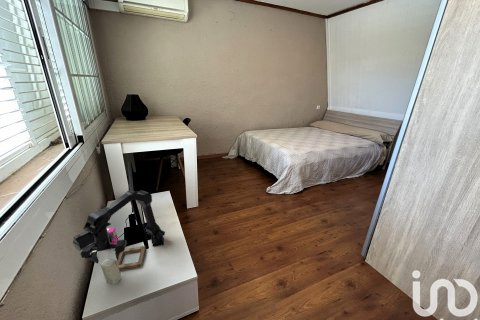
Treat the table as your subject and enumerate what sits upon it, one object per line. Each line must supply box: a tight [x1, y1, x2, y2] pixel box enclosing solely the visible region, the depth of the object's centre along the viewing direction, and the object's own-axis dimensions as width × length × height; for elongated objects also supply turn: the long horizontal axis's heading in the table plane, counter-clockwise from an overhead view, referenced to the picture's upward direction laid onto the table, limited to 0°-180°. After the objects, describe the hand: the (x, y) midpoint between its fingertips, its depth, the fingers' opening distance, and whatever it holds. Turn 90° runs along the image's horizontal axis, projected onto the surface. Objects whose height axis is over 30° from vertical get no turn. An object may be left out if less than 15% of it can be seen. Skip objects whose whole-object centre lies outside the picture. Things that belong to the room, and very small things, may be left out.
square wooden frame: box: [116, 245, 147, 272], centre depth 122 cm, size 14×14×2 cm
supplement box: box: [107, 227, 119, 244], centre depth 130 cm, size 6×6×12 cm
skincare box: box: [100, 258, 122, 285], centre depth 108 cm, size 6×4×12 cm
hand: (108, 261), depth 106 cm, fingers open, 9 cm apart
